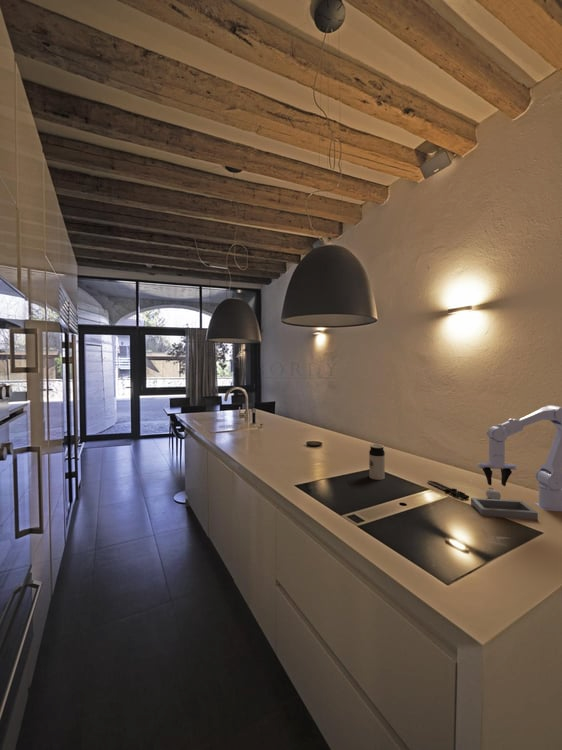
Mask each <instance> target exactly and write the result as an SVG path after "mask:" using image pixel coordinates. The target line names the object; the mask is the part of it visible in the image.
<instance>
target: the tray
mask: <svg viewBox="0 0 562 750" xmlns="http://www.w3.org/2000/svg"><path fill="white" fill-rule="evenodd" d="M470 505H472V507H473V506H474V507H475V508H476V509H477V510H478V511H477V510H476V509H475V508H474V507H473V508H474V509H475V510H476V511H477V512H478V513H479V514H480V515H481V516H484V517H485V516H486V517H495V518H496V517H497V518H507V519H508V518H510V519H518V520H519V519H521V520H530V521H531V520H532V521H538V520H539V519H538V516H539V514H538V512H537V511H536V510H535V509H533V508H532V507H530V506H529V505H528V504H527V503H525V502H524V501H523V500H514V499H513V500H512V499H511V500H510V499H489V498H483V497H482V498H479V497H470Z"/></svg>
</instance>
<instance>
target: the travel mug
mask: <svg viewBox="0 0 562 750" xmlns="http://www.w3.org/2000/svg"><path fill="white" fill-rule="evenodd" d="M369 447H370V449H369V451H368V453H369V455H368V457H369V459H368V461H369V462H368V463H369V464H368V467H369V469H368V470H369V471H368V472H369V478H370V479H372V480H377V481H382V480H384V479H385V478H386V477H385V474H386V470H385V466H386V465H385V463H386V461H385V460H386V458H385V455H386V454H385V453H386V452H385V450H384V448H385V445H384V444H380V443H373V444H370V445H369Z"/></svg>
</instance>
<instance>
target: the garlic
mask: <svg viewBox="0 0 562 750" xmlns="http://www.w3.org/2000/svg"><path fill="white" fill-rule="evenodd" d="M501 495H502V494H501V493H500V492H499V490H497V489H494V488H493V487H488V489H487V490H486V492H485V496H486V497H487V499H499V500H501Z"/></svg>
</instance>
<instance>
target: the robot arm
mask: <svg viewBox="0 0 562 750" xmlns="http://www.w3.org/2000/svg"><path fill="white" fill-rule="evenodd" d="M543 420H547V421H550V422H551V423H553V425H554V426H555V428H556V432H555V434H554V438H553V440H552V444H551V448H550V449H549V453H548V456H547V459H546V462H545V463H543V464H542V465H540V467H539V469H538V470H537V471H536V472H535V479H536V481H537V482H538V502H533V504H534V505H536V506H538V507H539V508H540V509H542V510H543V511H552V512H562V406H558V405H553V404H547V405H546V406H543V407H540V408H539V409H537V410H535V411H533V412H531V413H529V414H528V415H525V416H524V417H521V418H519V419H517V418H509V419H507V421H505V422H503V423H498V424H497V425H494V426H490V427H489V429H487V431H486V435H487V436H488V437H489V438H488V441H489V442H488V462H477V468H478V469H482V470H483V472H484V475H485V477H486V482H487V484H488V486H492V483H493V482H492V478H493V477H492V475H493V471H492V469H495V470H500V472H501V473H500V474H501V485H502V486H503V487H506V485H507V482H508V480H509V478H510V476H511V475H512V473H513V471H517V465H516V464H513V463H505V454H506V453H505V452H506V451H505V449H506V447H505V445H506V444H505V442H506V440H507V439H508V437H510V436H513V435H515V434H518V433H519V432H522V431H523V429H524V427H526V426H529V425H532V424H534V423H537V422H540V421H543ZM512 470H513V471H512Z"/></svg>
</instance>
